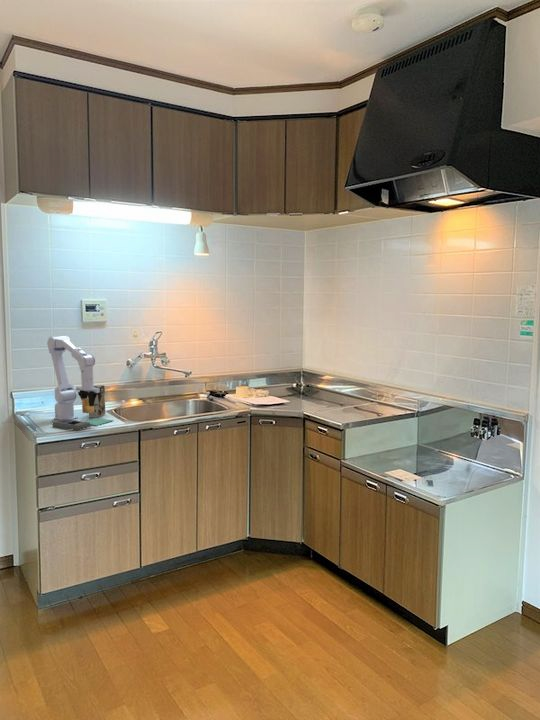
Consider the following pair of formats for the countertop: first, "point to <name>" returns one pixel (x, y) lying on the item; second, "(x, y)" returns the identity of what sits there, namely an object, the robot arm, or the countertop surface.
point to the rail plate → (71, 424)
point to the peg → (86, 406)
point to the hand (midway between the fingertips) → (88, 405)
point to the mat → (98, 421)
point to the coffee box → (99, 403)
